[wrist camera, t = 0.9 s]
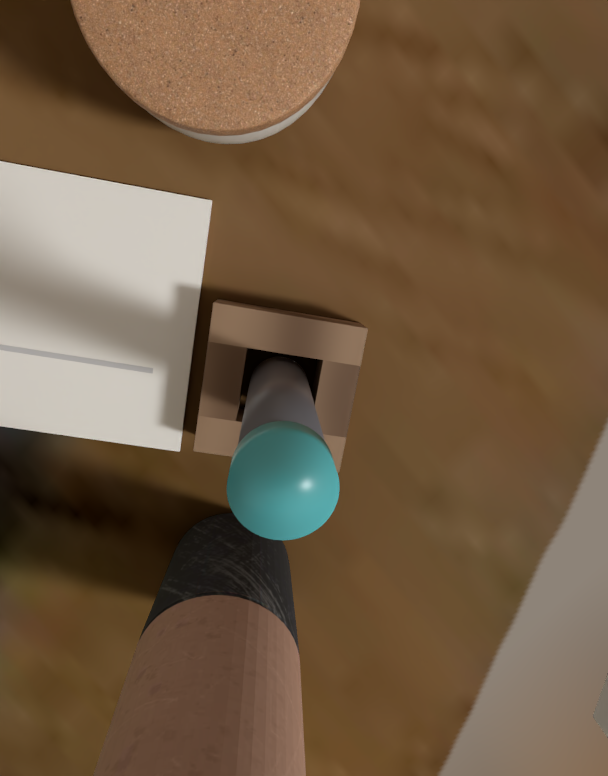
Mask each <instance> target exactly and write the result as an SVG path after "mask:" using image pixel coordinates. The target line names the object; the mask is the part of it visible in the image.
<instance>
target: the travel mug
mask: <svg viewBox="0 0 608 776" xmlns="http://www.w3.org/2000/svg"><path fill="white" fill-rule="evenodd" d="M93 776H306V772H305V753H304V734H303V715H302V696H301V676H300V658H299V648H298V639H297V629H296V620H295V611H294V602H293V593H292V584H291V574H290V567H289V560H288V555H287V551H286V549H285V546H284V544H283V542H282V540H273V539H268V538H264V537H261V536H259V535H257V534H255V533H253V532H251V531H250V530H248V529H247V528H246V527H244V526H243V525H242V524H241V523H240V522H239V521H238V519H237V518H236V516H235V515H234V513H227V514H219V515H215V516H212V517H209V518H206V519H204V520H202V521H200V522H199V523H197V524H196V525H194V526H193V527H192V528H191V529H189V531H188V532H187V533H186V534H185V535H184V536H183V538H182V539H181V540H180V542H179V544H178V546H177V548H176V550H175V552H174V555H173V557H172V559H171V562H170V564H169V567H168V569H167V572H166V574H165V577H164V579H163V582H162V584H161V587H160V589H159V592H158V594H157V597H156V599H155V601H154V604H153V606H152V609H151V611H150V614H149V616H148V619H147V621H146V624H145V626H144V629H143V631H142V634H141V636H140V639H139V642H138V644H137V647H136V650H135V653H134V656H133V659H132V662H131V665H130V668H129V671H128V674H127V677H126V680H125V683H124V686H123V689H122V692H121V695H120V698H119V701H118V703H117V706H116V709H115V712H114V715H113V718H112V721H111V724H110V727H109V730H108V733H107V736H106V739H105V742H104V745H103V748H102V751H101V754H100V757H99V760H98V763H97V766H96V769H95V772H94V775H93Z"/></svg>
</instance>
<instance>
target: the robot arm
mask: <svg viewBox="0 0 608 776" xmlns="http://www.w3.org/2000/svg"><path fill="white" fill-rule="evenodd" d="M593 717H594V719H595V720H596V722H597V723H598V725H599V726H600V727H601V729H602V730H603V732H604V733H605V735H606V736H607V738H608V675H607V677H606V680H605V683H604V686H603V689H602V691H601V695H600V697H599V700H598V703H597V706H596V708H595V711H594V714H593Z"/></svg>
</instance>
